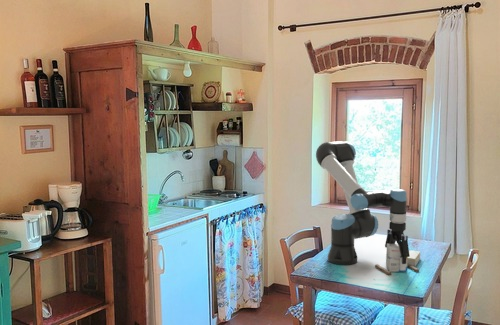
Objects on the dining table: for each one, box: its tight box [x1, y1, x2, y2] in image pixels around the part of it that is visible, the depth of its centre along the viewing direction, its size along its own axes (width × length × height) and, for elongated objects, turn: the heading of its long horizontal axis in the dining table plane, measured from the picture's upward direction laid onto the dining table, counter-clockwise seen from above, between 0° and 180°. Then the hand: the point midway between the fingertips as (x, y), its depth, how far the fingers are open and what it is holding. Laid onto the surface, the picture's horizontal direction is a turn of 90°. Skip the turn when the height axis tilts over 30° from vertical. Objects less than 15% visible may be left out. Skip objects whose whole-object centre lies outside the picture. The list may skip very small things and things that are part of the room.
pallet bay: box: [374, 263, 420, 276], centre depth 224 cm, size 12×16×1 cm
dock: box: [407, 249, 421, 267], centre depth 237 cm, size 14×14×4 cm
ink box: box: [385, 243, 408, 273], centre depth 224 cm, size 9×8×12 cm
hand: (396, 266), depth 224 cm, fingers closed on ink box, 10 cm apart
